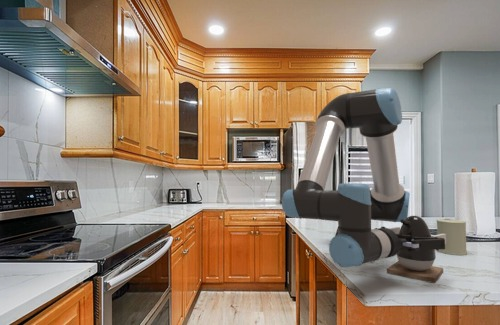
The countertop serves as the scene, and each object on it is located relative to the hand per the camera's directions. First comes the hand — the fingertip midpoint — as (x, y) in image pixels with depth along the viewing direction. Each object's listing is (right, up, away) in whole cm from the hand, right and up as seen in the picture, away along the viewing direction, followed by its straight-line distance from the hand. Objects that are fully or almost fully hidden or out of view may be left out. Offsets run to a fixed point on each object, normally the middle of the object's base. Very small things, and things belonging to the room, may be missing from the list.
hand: (420, 234), depth 89 cm
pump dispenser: (-3, -9, -2) cm, 10 cm away
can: (+24, -12, +22) cm, 34 cm away
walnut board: (-3, -10, -2) cm, 11 cm away
